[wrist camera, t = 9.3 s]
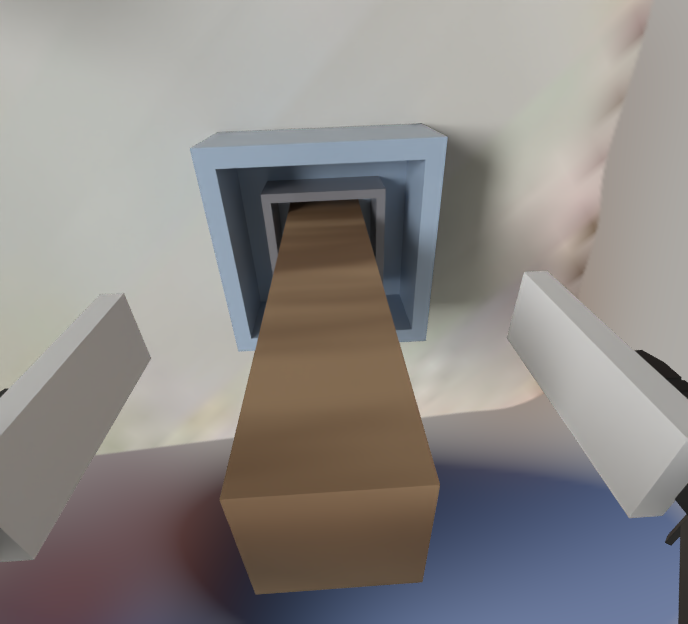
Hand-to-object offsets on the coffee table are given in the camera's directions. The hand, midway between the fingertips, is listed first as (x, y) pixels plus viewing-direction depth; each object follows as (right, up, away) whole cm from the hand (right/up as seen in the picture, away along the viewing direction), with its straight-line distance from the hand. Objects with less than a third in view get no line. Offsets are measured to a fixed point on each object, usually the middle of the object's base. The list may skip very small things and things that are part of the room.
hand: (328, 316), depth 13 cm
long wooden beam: (0, +4, +8) cm, 9 cm away
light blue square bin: (0, +5, +8) cm, 10 cm away
